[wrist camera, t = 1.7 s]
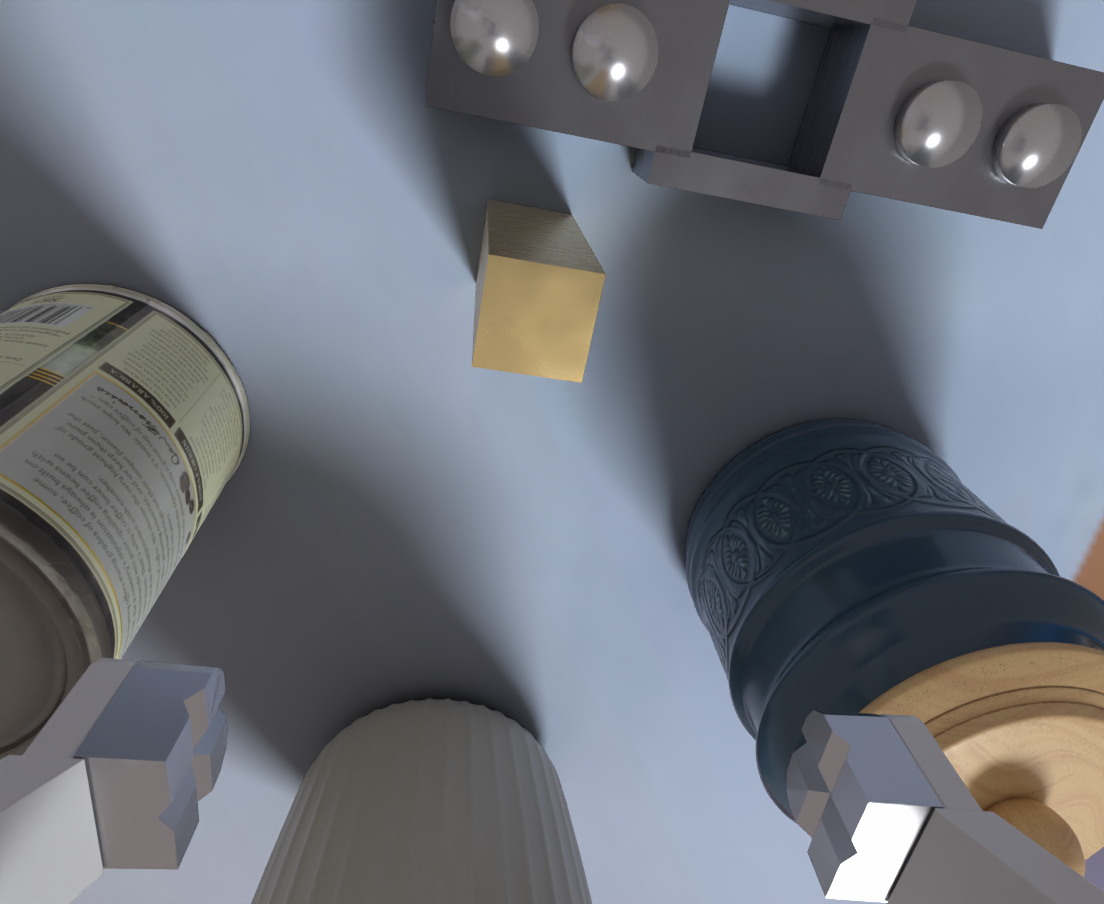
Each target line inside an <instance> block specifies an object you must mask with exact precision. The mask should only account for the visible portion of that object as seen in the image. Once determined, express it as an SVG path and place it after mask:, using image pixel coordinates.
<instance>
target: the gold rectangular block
mask: <svg viewBox="0 0 1104 904" xmlns="http://www.w3.org/2000/svg"><path fill="white" fill-rule="evenodd" d="M605 275H606V274H605V272H604V270H603V269H602V267H601V265H600V263H599V262H598V260H597V258H596V256H595V254H594V253H593V251H592V249H591V247H590V246H589V244H588V242H587V240H586V239H585V237H584V235H583V233H582V231H581V230H580V228H579V226H578V224H577V223H576V221H575V219H574V217H573V215H572V214H567V213H562V212H556V211H551V210H545V209H540V208H534V207H529V206H523V205H518V204H512V203H507V202H502V201H496V200H491V199H488V202H487V209H486V216H485V223H484V230H483V237H482V244H481V251H480V258H479V265H478V272H477V279H476V290H475V312H474V333H473V354H472V367H479V368H485V369H492V370H499V371H506V372H513V373H519V374H526V375H533V376H540V377H547V378H553V379H560V380H567V381H574V382H581V383H582V379H583V375H584V370H585V366H586V361H587V357H588V352H589V348H590V343H591V338H592V334H593V329H594V325H595V320H596V316H597V311H598V307H599V302H600V298H601V293H602V289H603V284H604V280H605Z"/></svg>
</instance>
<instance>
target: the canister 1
mask: <svg viewBox="0 0 1104 904" xmlns="http://www.w3.org/2000/svg"><path fill="white" fill-rule="evenodd" d="M251 904H592V901H591V897H590V893H589V889H588V884H587V880H586V876H585V872H584V868H583V864H582V860H581V856H580V852H579V848H578V844H577V841H576V837H575V833H574V829H573V825H572V822H571V818H570V814H569V810H568V807H567V803H566V799H565V796H564V793H563V790H562V787H561V784H560V780H559V777H558V775H557V772H556V769H555V767H554V766H553V764H552V762H551V761H550V759H549V758H548V755H547V754H546V752H545V750H544V748H543V747H542V746H541V744H539V743H538V742H537V741H536V740H535V739H534V737H533V736H532V734H531V733H530V732H529V731H527V730H526V729H524V728H522V727H521V726H520V725H519V724H518V723H517V722H516V721H515V720H513V719H510V718H507V717H505V716H504V715H503V714H502V713H501V712H499V711H492V710H489V709H488V708H487V707H485V706H484V705H475V704H471V703H469V702H467V701H454V700H451V699H449V698H447V699H442V700H436V699H431V698H428V699H426V700H420V701H415V700H410V701H408V702H405V703H401V704H391V705H390V706H388V707H387V708H384V709H377V710H374V711H373V712H371V713H370V714H369V715H367V716H364V717H361V718H358V719H357V720H355V721H354V722H353V723H352V724H351V725H350V726H348V727H346V728H344V729H343V730H341V731H340V732H339V733H338V734H337V735H336V736H335V738H334V739H333V740H331V741H330V742H329V743H328V744H327V745H326V746H325V747H324V748H323V749H322V751H321V752H320V754H319V755H318V757H317V759H316V760H315V761H314V762H313V764H312V765H311V766H310V768H309V770H308V771H307V773H306V775H305V777H304V779H303V781H302V783H301V785H300V787H299V790H298V792H297V794H296V797H295V799H294V801H293V804H292V806H291V808H290V811H289V813H288V815H287V818H286V820H285V823H284V825H283V827H282V830H281V832H280V834H279V837H278V839H277V841H276V844H275V846H274V849H273V851H272V853H271V856H270V858H269V861H268V863H267V865H266V868H265V870H264V873H263V875H262V878H261V880H260V883H259V885H258V888H257V890H256V893H255V895H254V898H253V900H252V903H251Z"/></svg>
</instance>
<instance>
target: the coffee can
mask: <svg viewBox="0 0 1104 904" xmlns="http://www.w3.org/2000/svg"><path fill="white" fill-rule="evenodd" d="M249 434H250V415H249V408H248V402H247V397H246V394H245V391H244V388H243V386H242V383H241V380H240V378H239V376H238V374H237V372H236V371H235V369H234V367H233V365H232V364H231V362H230V361H229V359H228V358H227V356H226V355H225V353H224V352H223V351H222V350H221V349H220V348H219V346H218V345H217V344H216V342H215V341H214V340H213V338H212V337H211V336H210V335H208V334H207V333H206V332H204V331H203V330H202V329H201V328H200V327H198V326H197V325H196V324H195V323H194V322H193V321H191V320H190V319H189V318H187V317H186V316H184V315H183V314H182V313H180V312H179V311H177V310H176V309H174V308H172V307H170V306H169V305H167V304H165V303H163V302H161V301H159V300H157V299H155V298H153V297H150V296H147V295H145V294H142V293H139V292H136V291H133V290H129V289H125V288H120V287H117V286H114V285H100V284H73V285H64V286H59V287H54V288H50V289H46V290H43V291H41V292H38V293H35V294H33V295H30V296H28V297H26V298H24V299H23V300H21V301H19V302H18V303H16V304H15V305H13V306H12V307H11V308H10V309H8V310H7V311H5V312H3V313H1V314H0V760H1V759H3V758H4V757H6V756H8V755H23V754H24V752H25V751H26V750H27V748H28V747H29V746H30V744H31V743H32V742H33V740H34V739H35V738H36V736H37V735H38V734H39V732H40V731H41V730H42V728H43V727H44V726H45V724H46V723H47V722H48V720H49V719H50V718H51V716H52V715H53V714H54V712H55V711H56V710H57V708H58V707H59V706H60V704H61V703H62V702H63V700H64V699H65V698H66V696H67V695H68V694H69V692H70V691H71V690H72V688H73V687H74V686H75V684H76V683H77V682H78V680H79V679H80V678H81V676H82V675H83V674H84V672H85V671H86V670H87V668H88V667H89V666H90V665H91V664H92V663H94V662H95V661H97V660H99V659H100V658H112V659H121V658H122V657H123V655H124V653H125V652H126V650H127V648H128V647H129V645H130V643H131V642H132V640H133V638H134V637H135V635H136V634H137V632H138V630H139V629H140V627H141V625H142V624H143V622H144V620H145V619H146V617H147V615H148V614H149V612H150V610H151V609H152V607H153V605H154V604H155V602H156V600H157V598H158V597H159V595H160V593H161V592H162V590H163V588H164V587H165V585H166V583H167V582H168V580H169V578H170V577H171V575H172V573H173V572H174V570H175V568H176V567H177V565H178V563H179V562H180V560H181V558H182V557H183V556H184V554H185V552H186V550H187V549H188V547H189V545H190V543H191V542H192V540H193V538H194V536H195V535H196V533H197V531H198V530H199V528H200V526H201V525H202V523H203V521H204V520H205V518H206V517H207V515H208V513H209V511H210V510H211V508H212V506H213V505H214V503H215V501H216V500H217V498H218V496H219V495H220V493H221V491H222V490H223V488H224V486H225V485H226V483H227V482H228V481H229V480H230V479H231V477H232V476H233V475H234V473H235V472H236V470H237V469H238V467H239V465H240V463H241V461H242V459H243V457H244V454H245V451H246V448H247V445H248V440H249Z"/></svg>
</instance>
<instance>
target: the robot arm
mask: <svg viewBox="0 0 1104 904" xmlns="http://www.w3.org/2000/svg"><path fill="white" fill-rule="evenodd" d="M225 691H226V690H225V680H224V671H222V670H221V669H220V668H215V667H204V666H194V665H183V664H173V663H162V662H152V661H141V662H140V661H131V660H121V659H112V658H100V659H99V660H97V661H95V662H94V663H92V664H91V665H90V666H89V667H88V668H87V670H86V671H85V672H84V674H83V675H82V676H81V678H80V679H79V680H78V682H77V683H76V684H75V686H74V687H73V688H72V690H71V691H70V692H69V694H68V695H67V696H66V698H65V699H64V700H63V702H62V703H61V704H60V706H59V707H58V708H57V710H56V711H55V712H54V714H53V715H52V716H51V718H50V719H49V720H48V722H47V723H46V724H45V726H44V727H43V728H42V730H41V731H40V732H39V734H38V735H37V736H36V738H35V739H34V740H33V742H32V743H31V744H30V746H29V747H28V748H27V750H26V751H25V752H24V754H23V755H8V756H6V757H4V758H3V759H1V760H0V904H69V903H70V902H71V901H72V900H73V899H74V898H76V897H77V896H78V895H79V894H80V893H81V892H82V891H84V890H85V889H86V888H87V887H88V886H89V885H90V884H91V883H93V882H94V881H95V880H96V879H97V878H98V877H99V876H100V875H102V874H103V872H104V871H103V868H115V869H178V868H179V866H180V863H181V861H182V859H183V856H184V854H185V852H186V850H187V847H188V845H189V843H190V841H191V838H192V836H193V834H194V831H195V829H196V827H197V825H198V822H199V814H198V801H199V800H200V799H202V798H203V797H204V796H206V795H207V794H208V793H210V792H211V791H212V790H213V788H214V785H215V783H216V780H217V778H218V775H219V773H220V770H221V766H222V762H223V758H224V754H225V751H226V744H227V733H228V725H227V716H226V715H225V714H224V713H223V711H222V710H221V709H220V708H219V707H218V706H219V704H220V702H221V699H222V697H223V695H224V693H225ZM802 733H803V735H804V737H805V739H806V742H807V743H805V744H804V745H803V746H801V747H800V748H799V749H798V750H796V751H795V752H794V753H793V754H792V757H791V760H790V763H789V766H788V769H787V795H788V800H789V805H790V808H791V811H792V814H793V816H794V819H795V822H796V823H797V824H798V825H799V826H800V827H801V828H802V829H803V830H804V831H805V832H807V833H808V834H809V835H810V836H811V837H812V840H811V843H810V846H809V849H808V851H807V852H808V855H809V857H810V860H811V862H812V865H813V867H814V870H815V872H816V875H817V877H818V880H819V882H820V885H821V887H822V890H823V892H824V895H825V897H826V898H834V899H847V900H860V901H874V902H887V904H1104V892H1103V891H1102V890H1100V889H1099V888H1098V887H1096V886H1095V885H1094V884H1092V883H1090V882H1089V881H1088V880H1086V879H1085V878H1084V877H1083V876H1081V875H1080V874H1078V873H1077V872H1076V871H1074V870H1073V869H1072V868H1070V867H1069V866H1067V865H1066V864H1065V863H1063V862H1062V861H1060V860H1059V859H1058V858H1056V857H1055V856H1054V855H1052V854H1051V853H1049V852H1048V851H1047V850H1045V849H1044V848H1043V847H1041V846H1040V845H1038V844H1037V843H1036V842H1034V841H1033V840H1031V839H1030V838H1029V837H1027V836H1026V835H1025V834H1023V833H1022V832H1020V831H1019V830H1018V829H1016V828H1015V827H1014V826H1012V825H1011V824H1009V823H1008V822H1007V821H1005V820H1004V819H1003V818H1001V817H1000V816H998V815H997V814H996V813H994V812H988V811H982V809H981V808H980V806H979V805H978V803H977V802H976V800H975V799H974V797H973V796H972V794H971V793H970V791H969V790H968V788H967V787H966V785H965V784H964V782H963V781H962V779H961V778H960V776H959V775H958V773H957V772H956V770H955V769H954V767H953V766H952V764H951V763H950V761H949V760H948V758H947V757H946V755H945V754H944V752H943V751H942V749H941V748H940V746H939V745H938V743H937V742H936V740H935V739H934V737H933V736H932V734H931V733H930V731H929V730H928V728H927V727H926V725H925V724H924V723H923V722H922V721H921V720H920V719H918V718H917V717H915V716H910V715H892V714H880V715H878V714H869V713H853V712H837V711H821V710H813V711H812V712H811V713H810V714H809V715H808V716H807V717H806V720H805V722H804V725H803V727H802Z"/></svg>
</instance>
